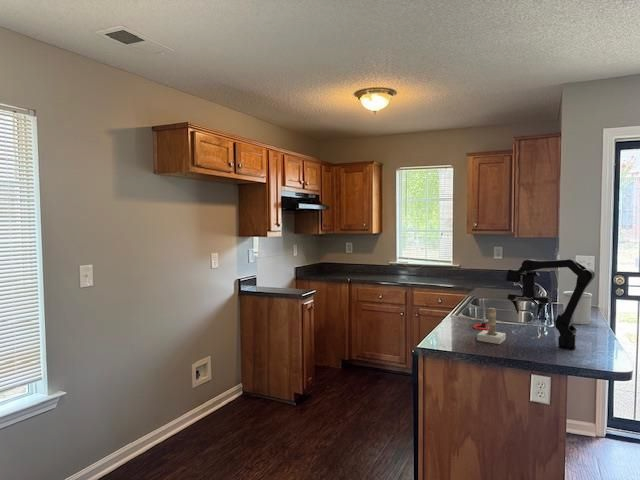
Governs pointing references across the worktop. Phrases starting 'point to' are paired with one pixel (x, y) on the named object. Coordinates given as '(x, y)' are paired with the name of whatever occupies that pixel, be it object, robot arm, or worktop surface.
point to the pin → (491, 321)
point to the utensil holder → (580, 308)
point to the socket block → (491, 337)
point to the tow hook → (482, 322)
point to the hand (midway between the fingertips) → (527, 314)
